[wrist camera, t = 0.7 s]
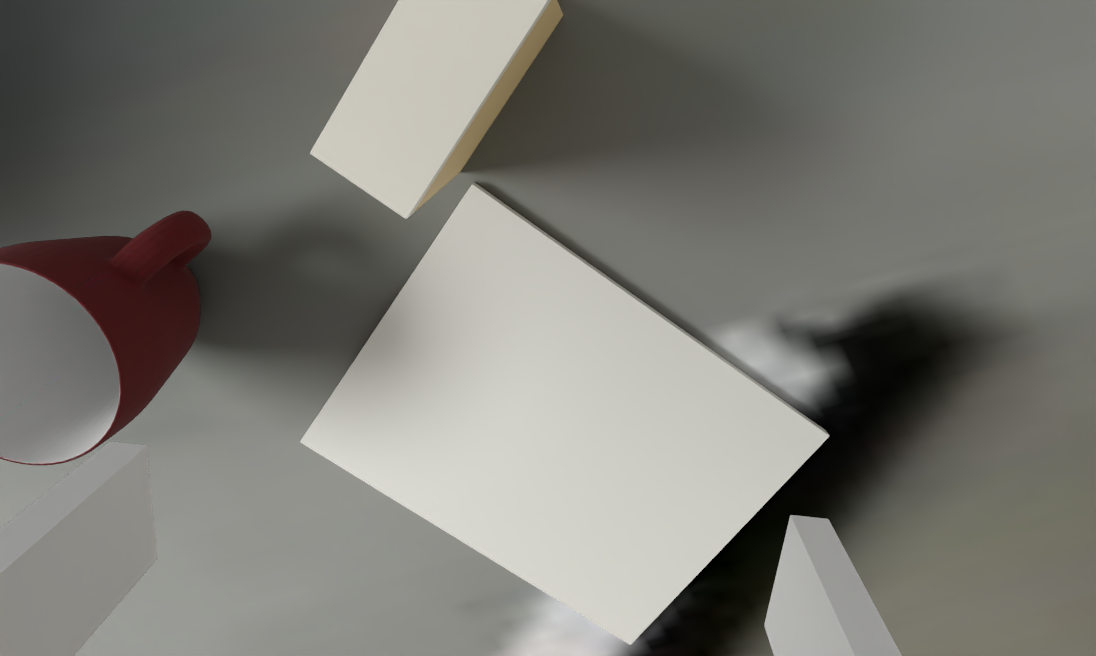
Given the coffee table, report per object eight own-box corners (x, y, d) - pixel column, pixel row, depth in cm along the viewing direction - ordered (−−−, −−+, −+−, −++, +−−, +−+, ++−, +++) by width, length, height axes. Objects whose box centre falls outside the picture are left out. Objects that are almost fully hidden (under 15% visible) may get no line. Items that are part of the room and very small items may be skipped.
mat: (304, 436, 39) (299, 442, 38) (473, 181, 34) (472, 183, 34) (629, 637, 42) (630, 644, 42) (825, 430, 37) (829, 436, 37)
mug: (155, 128, 34) (-9, 152, 25) (302, 243, 35) (200, 308, 26) (47, 297, 37) (-136, 377, 27) (187, 396, 38) (59, 504, 29)
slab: (394, 125, 33) (309, 153, 23) (494, -38, 31) (449, -89, 21) (460, 172, 34) (406, 219, 24) (563, 15, 32) (553, -9, 21)
